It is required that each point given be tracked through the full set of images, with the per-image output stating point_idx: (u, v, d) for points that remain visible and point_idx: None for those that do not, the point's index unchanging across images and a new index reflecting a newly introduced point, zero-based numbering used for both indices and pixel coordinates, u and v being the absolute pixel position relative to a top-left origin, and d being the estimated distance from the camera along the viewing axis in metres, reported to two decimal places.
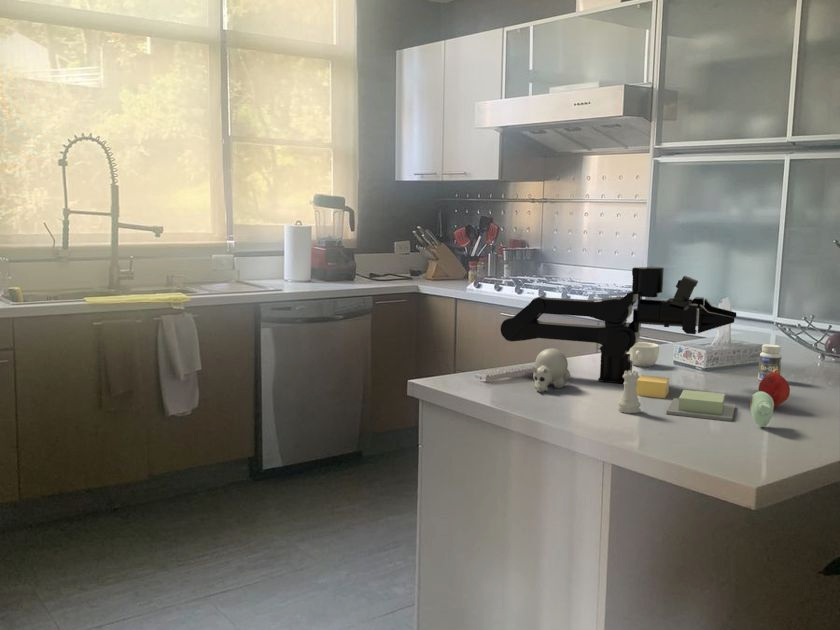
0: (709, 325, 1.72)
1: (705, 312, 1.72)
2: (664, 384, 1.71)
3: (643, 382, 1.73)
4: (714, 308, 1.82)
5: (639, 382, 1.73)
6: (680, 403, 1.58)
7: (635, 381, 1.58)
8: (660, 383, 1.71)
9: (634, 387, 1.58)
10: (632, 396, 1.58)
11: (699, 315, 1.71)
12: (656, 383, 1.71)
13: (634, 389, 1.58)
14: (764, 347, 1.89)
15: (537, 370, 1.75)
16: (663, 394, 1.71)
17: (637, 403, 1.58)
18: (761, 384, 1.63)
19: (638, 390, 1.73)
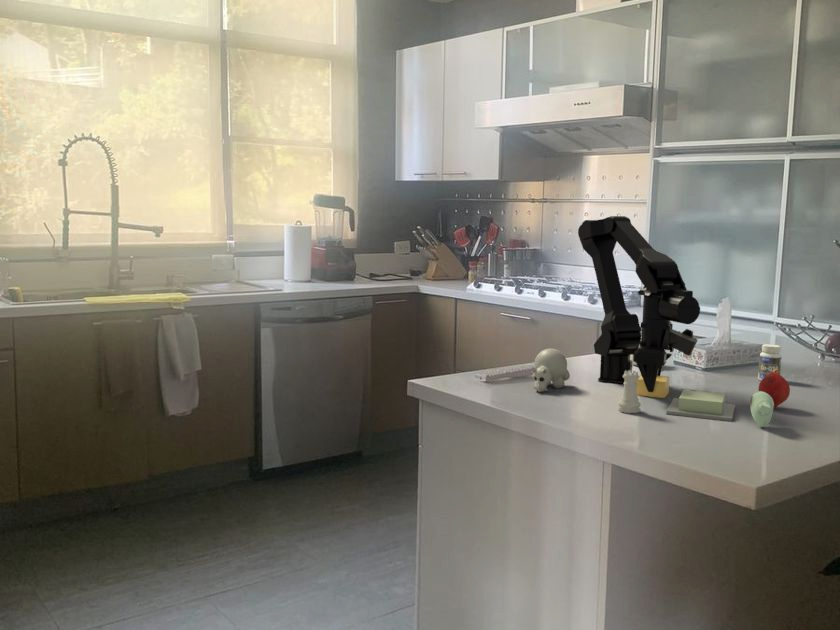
0: (644, 370, 1.70)
1: (657, 367, 1.69)
2: (664, 383, 1.71)
3: (643, 381, 1.73)
4: None
5: (639, 381, 1.73)
6: (680, 403, 1.58)
7: (635, 381, 1.58)
8: (660, 382, 1.71)
9: (634, 387, 1.58)
10: (632, 396, 1.58)
11: (654, 363, 1.68)
12: (656, 382, 1.71)
13: (634, 389, 1.58)
14: (764, 347, 1.89)
15: (537, 370, 1.75)
16: (663, 393, 1.71)
17: (637, 403, 1.58)
18: (761, 384, 1.63)
19: (638, 389, 1.73)
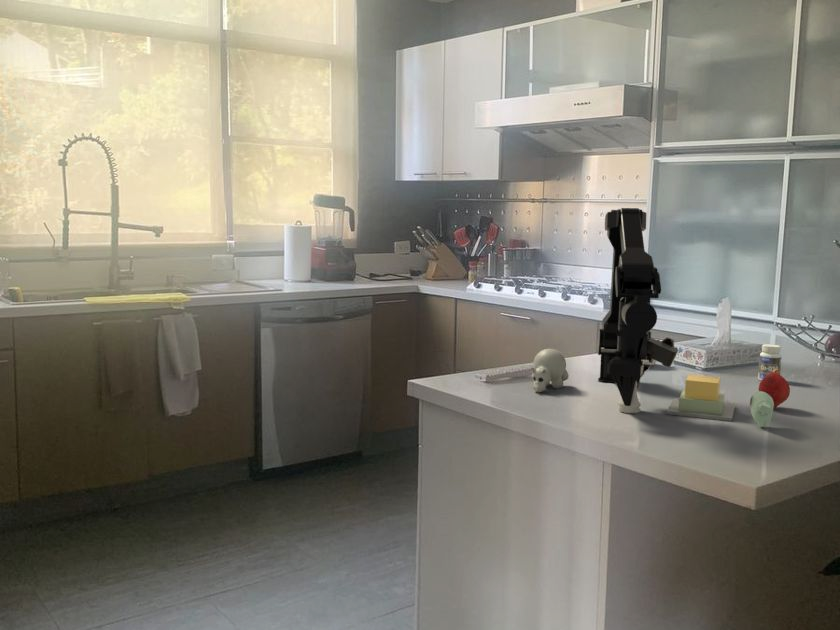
0: (620, 382, 1.56)
1: (635, 379, 1.54)
2: (716, 384, 1.56)
3: (693, 382, 1.58)
4: (638, 378, 1.60)
5: (688, 382, 1.58)
6: (680, 403, 1.58)
7: None
8: (712, 383, 1.56)
9: None
10: None
11: None
12: (707, 383, 1.57)
13: (634, 389, 1.58)
14: (764, 347, 1.89)
15: (536, 370, 1.75)
16: (715, 395, 1.56)
17: (637, 403, 1.58)
18: (761, 384, 1.63)
19: (687, 391, 1.58)
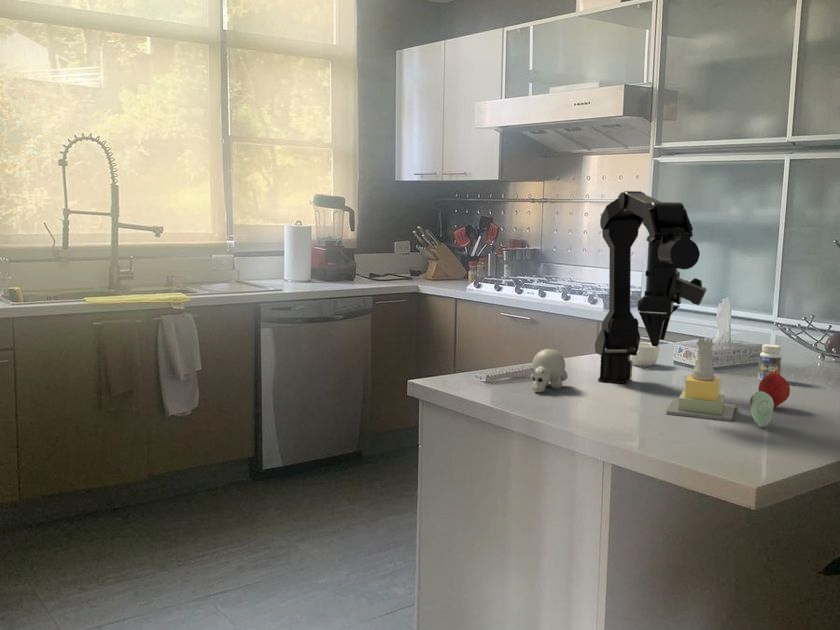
0: (648, 322, 1.57)
1: (663, 319, 1.55)
2: (716, 384, 1.56)
3: (693, 382, 1.58)
4: (668, 317, 1.66)
5: (688, 382, 1.58)
6: (680, 403, 1.58)
7: (710, 348, 1.58)
8: (712, 383, 1.56)
9: (709, 354, 1.58)
10: (706, 363, 1.58)
11: (659, 314, 1.54)
12: (707, 383, 1.57)
13: (709, 356, 1.58)
14: (764, 347, 1.89)
15: (535, 371, 1.75)
16: (715, 395, 1.56)
17: (712, 370, 1.58)
18: (761, 384, 1.63)
19: (687, 391, 1.58)
